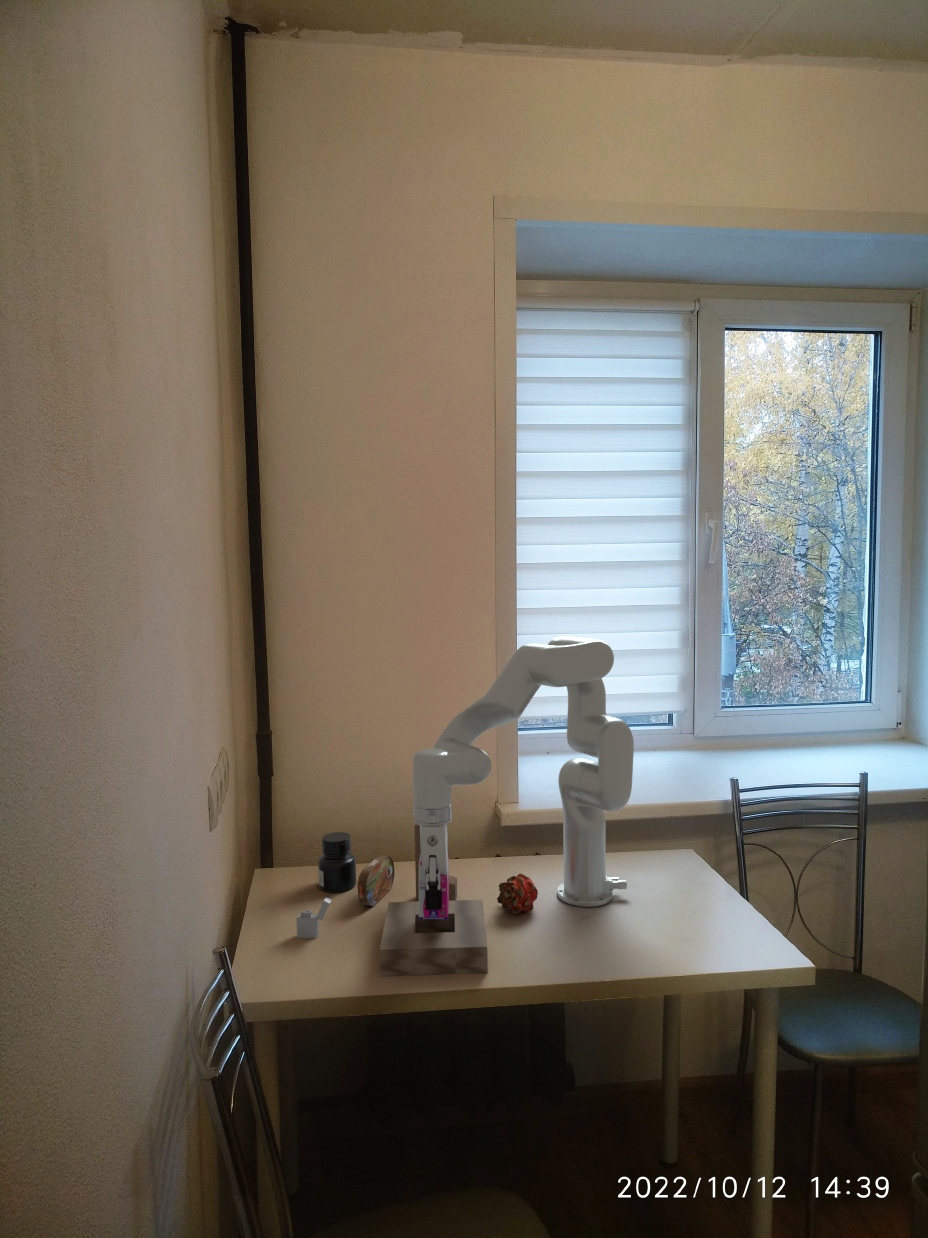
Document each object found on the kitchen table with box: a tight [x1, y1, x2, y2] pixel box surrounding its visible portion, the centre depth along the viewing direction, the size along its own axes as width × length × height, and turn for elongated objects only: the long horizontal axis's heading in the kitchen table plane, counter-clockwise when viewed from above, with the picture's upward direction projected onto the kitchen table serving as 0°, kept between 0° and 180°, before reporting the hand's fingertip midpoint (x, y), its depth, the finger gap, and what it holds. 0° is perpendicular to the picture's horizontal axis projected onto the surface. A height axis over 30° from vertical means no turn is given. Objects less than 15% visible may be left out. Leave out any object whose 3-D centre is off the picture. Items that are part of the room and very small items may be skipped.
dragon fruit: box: [496, 873, 539, 915], centre depth 164 cm, size 8×8×12 cm
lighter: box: [295, 897, 332, 939], centre depth 154 cm, size 7×2×8 cm, turn 86°
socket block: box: [379, 899, 489, 977], centre depth 148 cm, size 20×20×5 cm
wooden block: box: [414, 823, 458, 902], centre depth 170 cm, size 9×4×18 cm, turn 85°
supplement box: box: [419, 853, 450, 920], centre depth 148 cm, size 6×6×12 cm
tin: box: [356, 855, 395, 907], centre depth 172 cm, size 15×3×8 cm, turn 161°
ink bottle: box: [317, 831, 357, 893], centre depth 178 cm, size 10×9×12 cm
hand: (434, 901), depth 148 cm, fingers closed on supplement box, 5 cm apart
